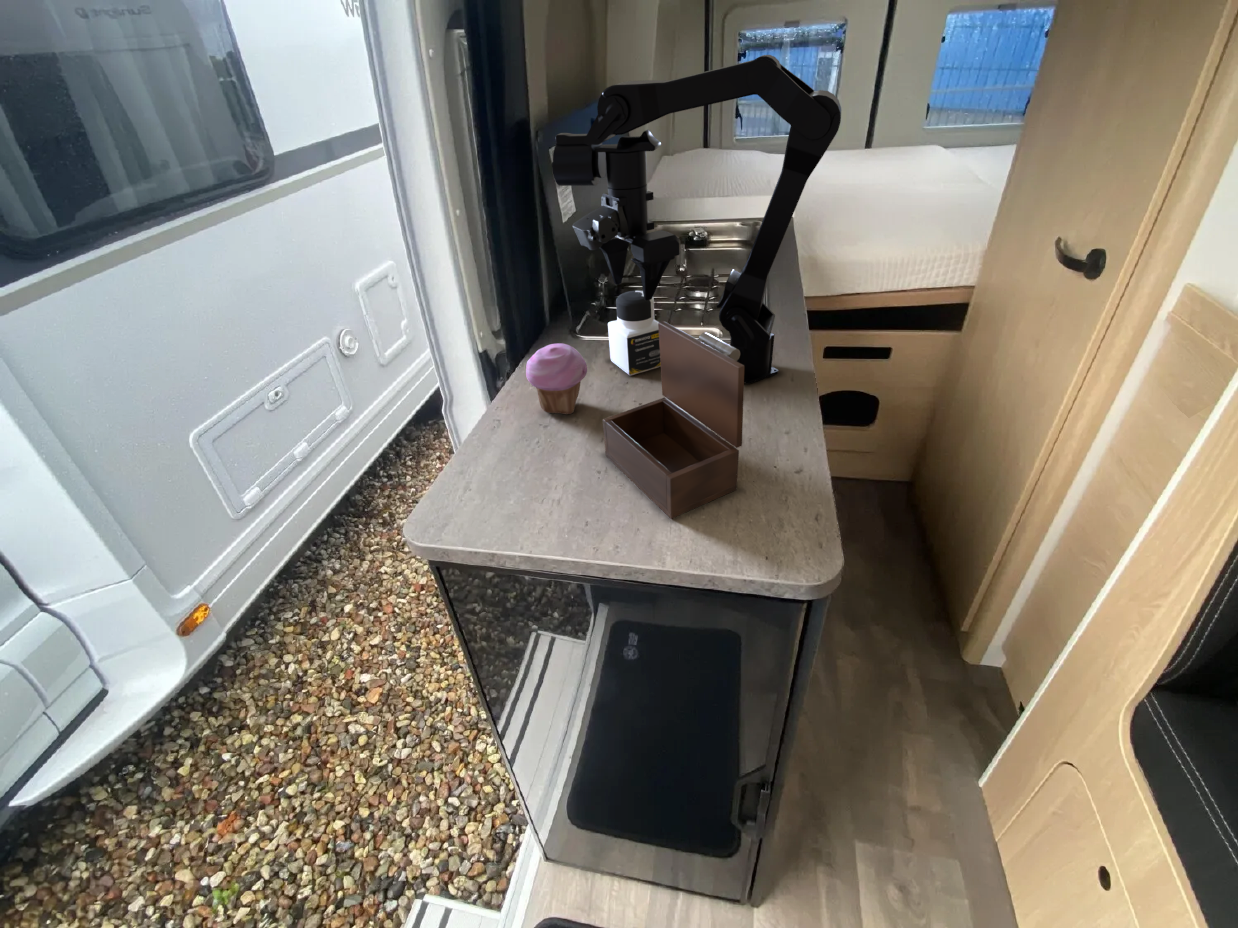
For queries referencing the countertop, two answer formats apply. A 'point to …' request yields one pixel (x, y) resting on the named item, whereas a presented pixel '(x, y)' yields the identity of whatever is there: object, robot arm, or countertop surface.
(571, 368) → the cupcake
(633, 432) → the storage box
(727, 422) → the hatch
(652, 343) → the medicine bottle
